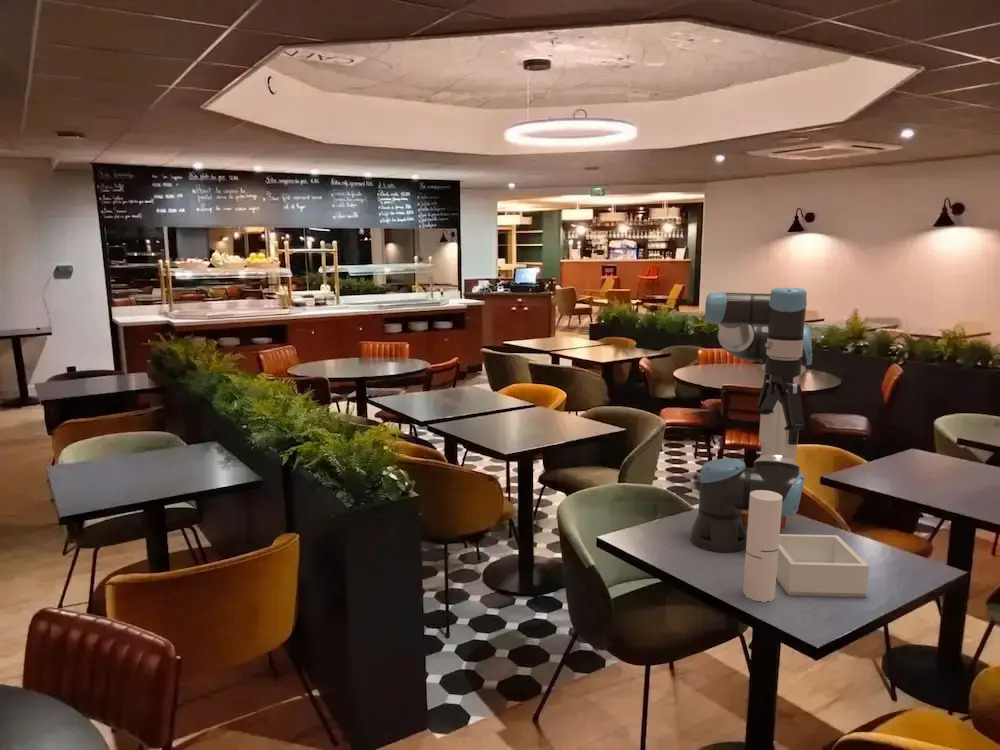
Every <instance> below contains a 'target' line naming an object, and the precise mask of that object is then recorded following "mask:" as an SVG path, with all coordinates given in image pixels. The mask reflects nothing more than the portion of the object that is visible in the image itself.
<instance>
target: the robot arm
mask: <svg viewBox="0 0 1000 750" xmlns="http://www.w3.org/2000/svg"><path fill="white" fill-rule="evenodd" d="M807 304H808V303H807V290H805V289H804V288H799V287H798V288H797V287H774V288H773V289H772V290H771V291H770V293H749V292H748V293H747V292H745V293H744V292H743V293H742V292H724V291H721V292H719V291H718V292H709V293H708V294H707V295H706V299H705V307H704V308H705V310H704V316H705V317H704V318H705V322H706V323H708V324H715V325H718V332H717V338H718V343H719V344H720V346H721V348H722V349H723V350H724V351H725V352H727V353H728V354H730V355H732V356H733V357H735V358H738V359H739V360H744V361H748V362H756V363H758V362H759V363H761V369H762V370H763V371H764V376H763V377H764V378H763V384H762V387H761V390H760V394H759V397H758V399H757V405H756V408H757V409H758V410H759V414H760V419H759V433H758V441H759V442H761V445H760V456H759V457H758V458H756V460H754V461H753V467H747V466H746V463H745V461H743V460H741V459H736V458H719V459H718V458H717V459H712V460H710V461H707V462H705V463H704V464H703V465H702V466H701V468H700V474H699V475H700V478H699V494H698V495H699V496H698V511H697V512H698V513H697V515H696V517H695V520H694V522H693V525H692V527H691V530H690V541H691V542H692V543H693V544H694V545H695V546H697V547H699V548H701V549H703V550H704V549H705V550H707V551H713V552H718V553H736V552H739V551H743V550H745V549H746V543H747V531H746V529H745V526H744V525H743V521H742V510H748V511H749V500H750V492H752V491H755V490H767V491H772V492H776V493H778V494H780V495H782V497H783V498H782V511H781V515H785V516H794V515H796V514H797V512H798V510H799V505H800V502H801V497H802V493H803V489H804V482H805V478H806V476H805V473H803V472H800V465H799V464H798V463H797V462H796V461H795V459H797V455H798V453H797V452H798V444H799V442H798V441H799V431H801V430H805V429H806V428H805V425H806V424H805V419H804V411H803V403H802V396H801V392H802V391H801V390H802V389H801V387H802V386H801V383H800V377H801V375H802V374H803V373H805V372H806V371H807V370H806V368H807V366H811V365H812V363H813V346H812V345H813V344H812V342H813V341H812V335H811V330H810V327H809V326H808V324H806V323H805V322H806V321H805V320H806V311H807V306H808V305H807Z"/></svg>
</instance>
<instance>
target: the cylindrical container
mask: <svg viewBox="0 0 1000 750" xmlns="http://www.w3.org/2000/svg"><path fill="white" fill-rule="evenodd" d="M782 498H783V497H782V495H780V494H778V493H776V492H772V491H767V490H755V491H752V492H750V500H749V514H748V527H746V528H747V531H746V536H747V543H746V547H745V561H744V571H743V572H744V575H743V586H742V594H743V593H744V594H745V595H746V596H747V597H749V598H751V599H753V600H758V601H764V602H763V603H768V602H767V601H770V602H772V600H773V601H774V600H775V599H774V598H775V597H776V585H777V579H776V575H777V562H778V550H779V537H780V534H781V533H780V532H781V530H780V524H781V511H782ZM744 594H743V595H744ZM747 597H746V598H747ZM751 599H750V600H751ZM753 600H752V601H753Z"/></svg>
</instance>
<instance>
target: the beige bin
mask: <svg viewBox="0 0 1000 750" xmlns="http://www.w3.org/2000/svg"><path fill="white" fill-rule="evenodd" d="M869 569H870V565H869V564H868V563H866V562H865V561H864V559H863V558H861V556H859V555H858V554H857V552H856V551H854V549H852V548H851V547H850V546H849V545H848V544H847V543H846V542H845V541H844V540H843V539H842V538H841V537H840V536H839V535H836V534H833V535H832V534H799V533H798V534H792V533H790V534H788V533H780V537H779V550H778V562H777V575H776V578H777V579H776V581H778V583H779V584H780V586H781V587H782V588H783V591H785V593H786V594H787V595H788V597H789V596H790V597H791V596H792V597H794V596H795V597H824V598H825V597H828V598H829V597H831V598H865V599H866V598H867V589H868V581H869V580H868V578H869V571H870V570H869Z"/></svg>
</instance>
